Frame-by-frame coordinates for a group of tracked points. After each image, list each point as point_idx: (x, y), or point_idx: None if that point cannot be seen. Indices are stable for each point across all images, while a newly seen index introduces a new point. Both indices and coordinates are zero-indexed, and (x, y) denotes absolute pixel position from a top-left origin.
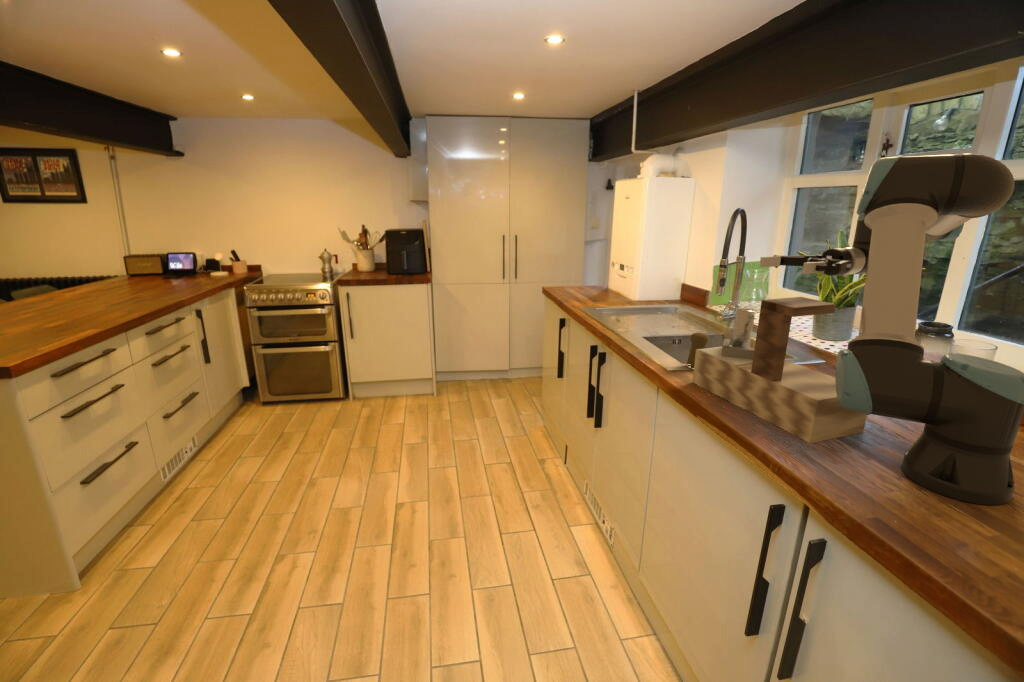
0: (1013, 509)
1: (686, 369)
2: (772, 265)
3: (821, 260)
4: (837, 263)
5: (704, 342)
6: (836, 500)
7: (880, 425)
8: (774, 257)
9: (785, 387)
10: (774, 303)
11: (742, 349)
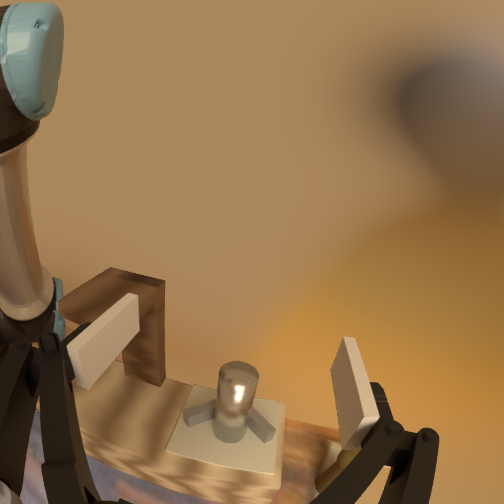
0: None
1: (326, 465)
2: (339, 409)
3: (120, 499)
4: (25, 341)
5: (337, 460)
6: (69, 329)
7: (35, 459)
8: (354, 383)
9: (115, 361)
10: (141, 275)
11: (209, 401)
